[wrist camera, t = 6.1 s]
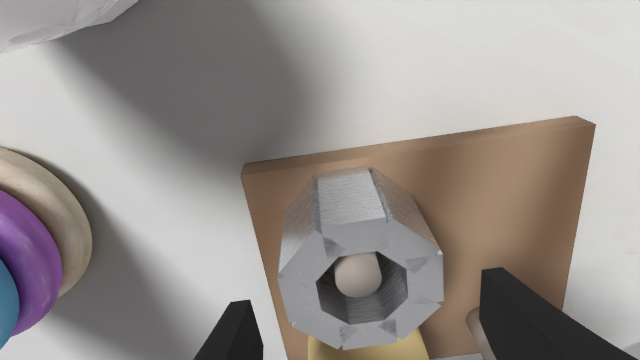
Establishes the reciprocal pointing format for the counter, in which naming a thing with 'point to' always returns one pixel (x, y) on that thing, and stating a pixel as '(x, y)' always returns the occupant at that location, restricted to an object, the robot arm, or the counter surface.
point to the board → (446, 223)
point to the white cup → (52, 19)
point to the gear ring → (355, 238)
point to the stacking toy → (37, 242)
